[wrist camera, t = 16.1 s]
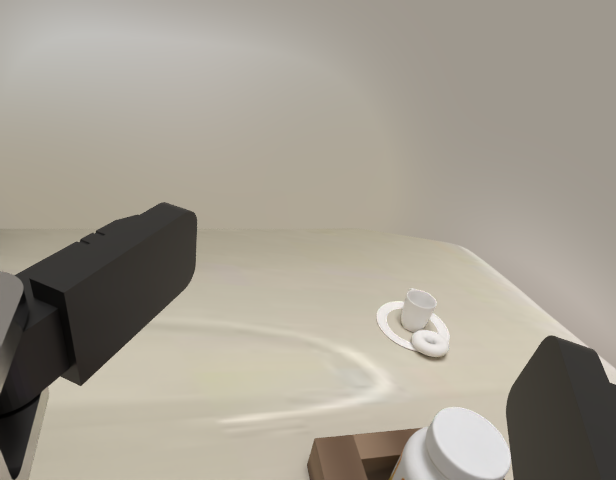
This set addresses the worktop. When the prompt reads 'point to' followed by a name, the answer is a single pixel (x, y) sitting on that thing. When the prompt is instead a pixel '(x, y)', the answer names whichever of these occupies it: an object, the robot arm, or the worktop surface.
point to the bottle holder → (357, 455)
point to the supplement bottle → (454, 449)
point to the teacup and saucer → (417, 323)
